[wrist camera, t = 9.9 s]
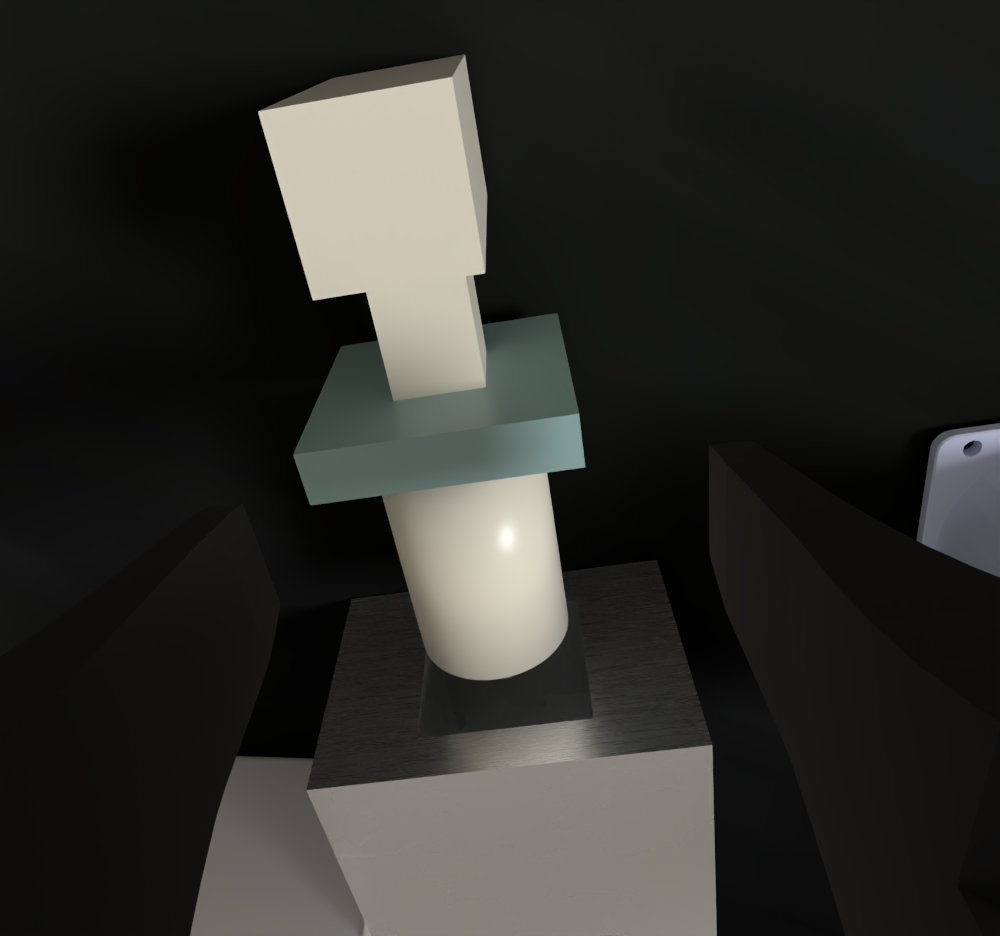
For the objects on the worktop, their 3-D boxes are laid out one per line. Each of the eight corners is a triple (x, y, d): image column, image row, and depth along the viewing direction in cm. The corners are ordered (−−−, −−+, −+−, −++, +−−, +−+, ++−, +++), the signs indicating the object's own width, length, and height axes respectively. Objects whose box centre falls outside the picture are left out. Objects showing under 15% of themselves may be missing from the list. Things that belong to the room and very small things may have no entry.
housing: (656, 559, 25) (712, 745, 18) (669, 746, 29) (717, 945, 23) (351, 599, 25) (306, 790, 19) (410, 775, 30) (389, 976, 24)
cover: (523, 43, 17) (538, 61, 11) (584, 537, 24) (612, 697, 18) (275, 88, 17) (176, 125, 12) (406, 560, 24) (381, 724, 19)
